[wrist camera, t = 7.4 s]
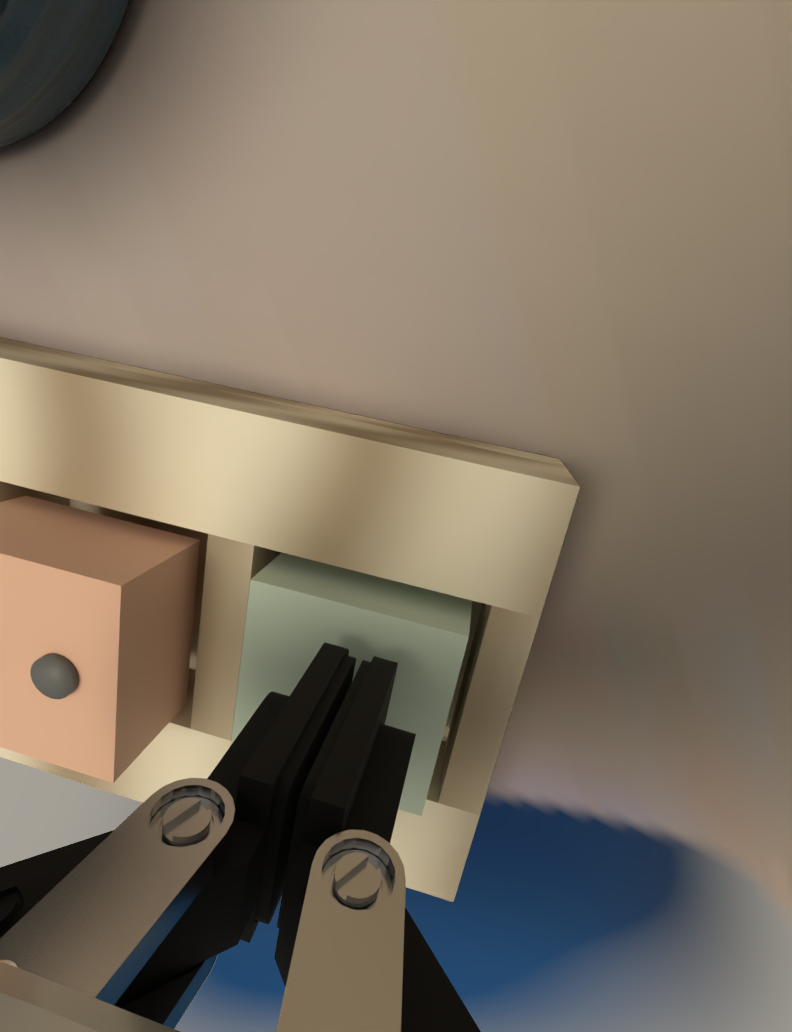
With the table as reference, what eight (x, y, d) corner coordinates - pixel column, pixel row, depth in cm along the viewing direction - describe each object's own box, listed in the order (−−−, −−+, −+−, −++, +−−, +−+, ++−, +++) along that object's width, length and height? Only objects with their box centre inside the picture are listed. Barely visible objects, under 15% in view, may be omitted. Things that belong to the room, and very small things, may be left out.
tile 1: (474, 582, 14) (468, 640, 11) (434, 735, 16) (420, 823, 13) (297, 538, 15) (246, 582, 12) (275, 689, 16) (225, 763, 13)
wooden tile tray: (559, 459, 14) (580, 486, 11) (460, 800, 18) (453, 902, 15) (-128, 309, 17) (-284, 294, 14) (-96, 635, 20) (-214, 688, 17)
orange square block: (200, 540, 13) (114, 589, 10) (186, 703, 15) (107, 789, 12) (25, 495, 14) (-105, 530, 11) (28, 657, 15) (-86, 728, 12)
